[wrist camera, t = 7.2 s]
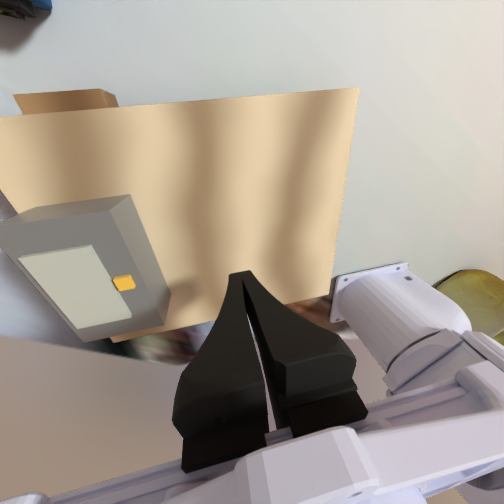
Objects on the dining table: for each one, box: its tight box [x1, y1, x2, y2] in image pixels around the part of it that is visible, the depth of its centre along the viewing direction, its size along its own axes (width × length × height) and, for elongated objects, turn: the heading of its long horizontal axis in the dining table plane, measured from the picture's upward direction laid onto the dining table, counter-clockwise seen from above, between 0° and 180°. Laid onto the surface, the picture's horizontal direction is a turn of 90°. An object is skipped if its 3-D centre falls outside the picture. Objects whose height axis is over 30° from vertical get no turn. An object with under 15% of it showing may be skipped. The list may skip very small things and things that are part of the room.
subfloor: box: [0, 87, 360, 343], centre depth 16 cm, size 20×18×4 cm
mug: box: [436, 269, 504, 346], centre depth 27 cm, size 12×10×10 cm
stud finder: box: [0, 194, 171, 343], centre depth 12 cm, size 5×8×3 cm, turn 5°
